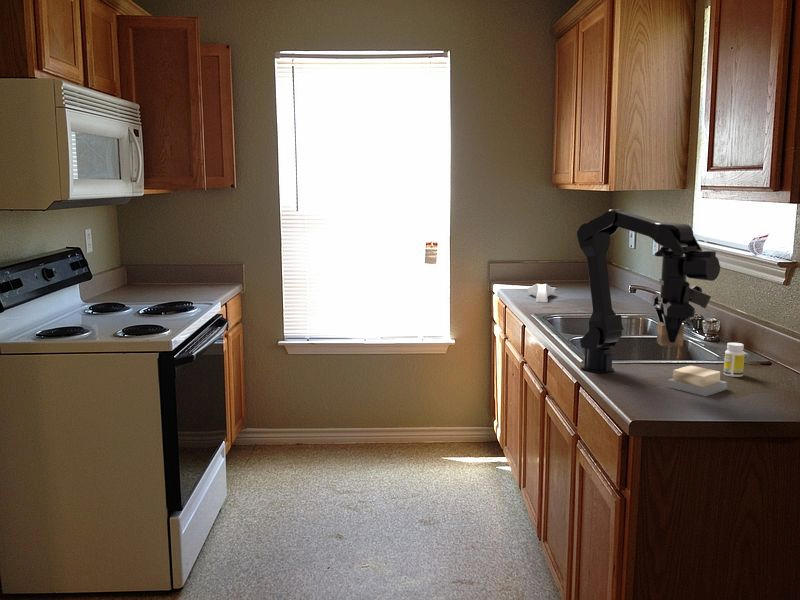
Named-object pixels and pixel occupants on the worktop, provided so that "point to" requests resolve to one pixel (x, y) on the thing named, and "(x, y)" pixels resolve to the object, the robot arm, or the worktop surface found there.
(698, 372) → the birch top block
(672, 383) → the grey base block
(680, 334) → the walnut cube
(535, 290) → the spoon rest
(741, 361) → the supplement bottle
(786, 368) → the worktop surface
